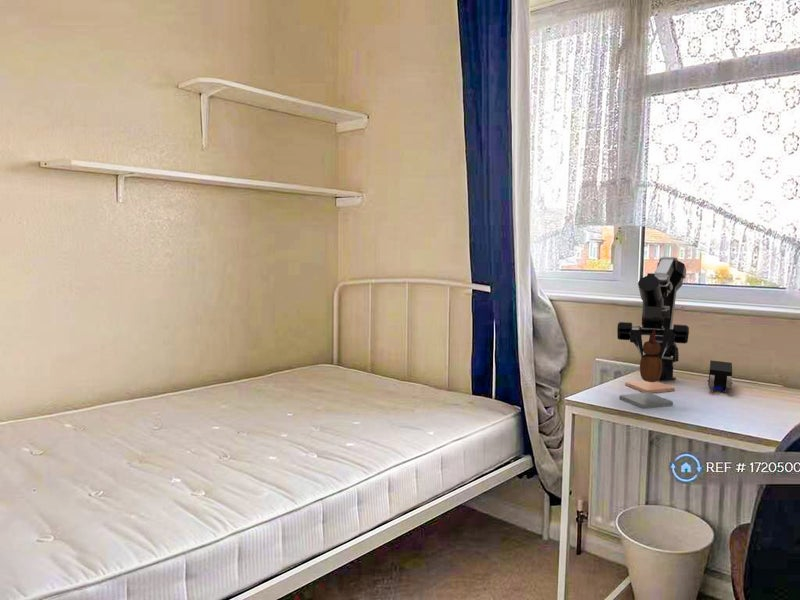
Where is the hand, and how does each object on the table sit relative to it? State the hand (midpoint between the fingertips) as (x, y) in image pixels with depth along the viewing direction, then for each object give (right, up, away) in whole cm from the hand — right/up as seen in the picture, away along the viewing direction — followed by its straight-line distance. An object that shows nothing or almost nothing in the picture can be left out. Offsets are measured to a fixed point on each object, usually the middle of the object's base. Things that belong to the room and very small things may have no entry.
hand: (651, 357), depth 168 cm
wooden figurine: (+1, -7, +2) cm, 7 cm away
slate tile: (0, -13, +3) cm, 13 cm away
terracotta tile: (+7, -11, +18) cm, 22 cm away
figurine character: (+28, -12, +17) cm, 35 cm away
